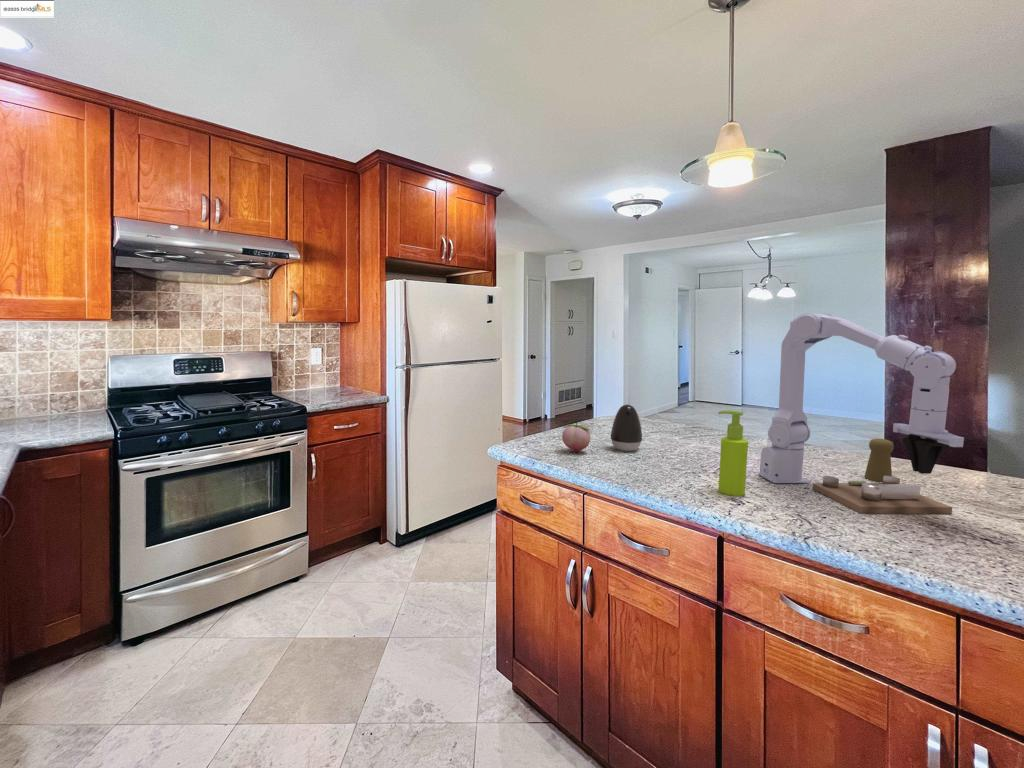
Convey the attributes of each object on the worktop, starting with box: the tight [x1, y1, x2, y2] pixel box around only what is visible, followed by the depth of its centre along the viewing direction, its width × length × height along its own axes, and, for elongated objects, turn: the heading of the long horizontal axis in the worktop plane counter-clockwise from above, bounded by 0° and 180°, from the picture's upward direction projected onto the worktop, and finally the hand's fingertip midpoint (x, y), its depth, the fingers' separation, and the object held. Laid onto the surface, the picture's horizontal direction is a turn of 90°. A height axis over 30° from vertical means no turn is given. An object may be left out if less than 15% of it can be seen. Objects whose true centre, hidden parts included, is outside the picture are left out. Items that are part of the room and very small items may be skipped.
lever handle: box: [861, 482, 921, 501], centre depth 106 cm, size 12×4×3 cm, turn 91°
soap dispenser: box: [717, 409, 749, 497], centre depth 114 cm, size 6×7×20 cm
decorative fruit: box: [561, 421, 591, 453], centre depth 152 cm, size 9×8×10 cm
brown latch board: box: [812, 475, 953, 515], centre depth 109 cm, size 20×16×4 cm
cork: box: [863, 438, 894, 483], centre depth 125 cm, size 6×6×11 cm
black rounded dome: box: [610, 404, 643, 452], centre depth 155 cm, size 10×10×15 cm
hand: (921, 472), depth 100 cm, fingers closed
